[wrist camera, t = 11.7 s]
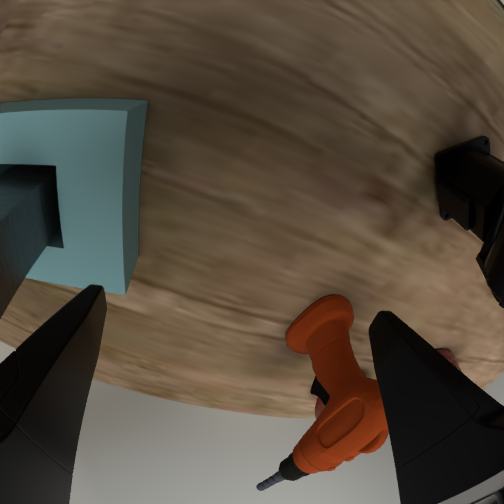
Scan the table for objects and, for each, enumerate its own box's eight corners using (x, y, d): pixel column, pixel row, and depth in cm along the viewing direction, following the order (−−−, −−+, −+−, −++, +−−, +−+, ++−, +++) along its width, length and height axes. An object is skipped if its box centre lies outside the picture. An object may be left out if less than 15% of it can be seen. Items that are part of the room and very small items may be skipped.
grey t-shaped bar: (77, 140, 17) (-58, 255, 6) (79, 216, 21) (-7, 360, 9) (32, 139, 16) (-101, 243, 5) (38, 211, 20) (-56, 339, 9)
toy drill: (225, 398, 34) (242, 511, 21) (320, 282, 28) (397, 418, 14) (259, 405, 36) (283, 510, 23) (356, 298, 29) (432, 417, 16)
